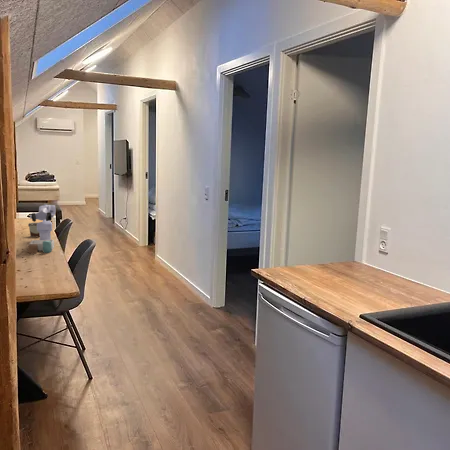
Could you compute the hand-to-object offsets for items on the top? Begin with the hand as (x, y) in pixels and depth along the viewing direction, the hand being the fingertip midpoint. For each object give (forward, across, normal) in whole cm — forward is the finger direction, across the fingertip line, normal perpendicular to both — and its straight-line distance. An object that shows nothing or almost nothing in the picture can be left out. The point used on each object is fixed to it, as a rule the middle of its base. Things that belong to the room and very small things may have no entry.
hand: (40, 219), depth 293 cm
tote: (-2, -1, +21) cm, 21 cm away
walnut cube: (+7, -5, +20) cm, 22 cm away
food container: (-52, -10, +29) cm, 60 cm away
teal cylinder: (+8, +3, +20) cm, 21 cm away
